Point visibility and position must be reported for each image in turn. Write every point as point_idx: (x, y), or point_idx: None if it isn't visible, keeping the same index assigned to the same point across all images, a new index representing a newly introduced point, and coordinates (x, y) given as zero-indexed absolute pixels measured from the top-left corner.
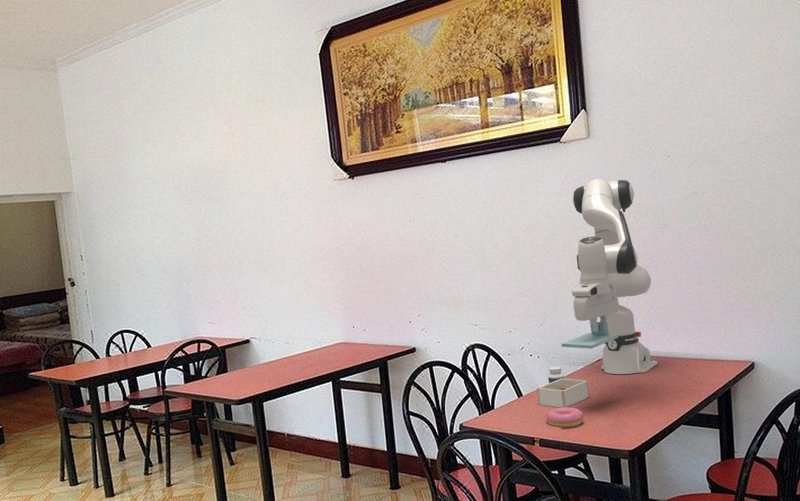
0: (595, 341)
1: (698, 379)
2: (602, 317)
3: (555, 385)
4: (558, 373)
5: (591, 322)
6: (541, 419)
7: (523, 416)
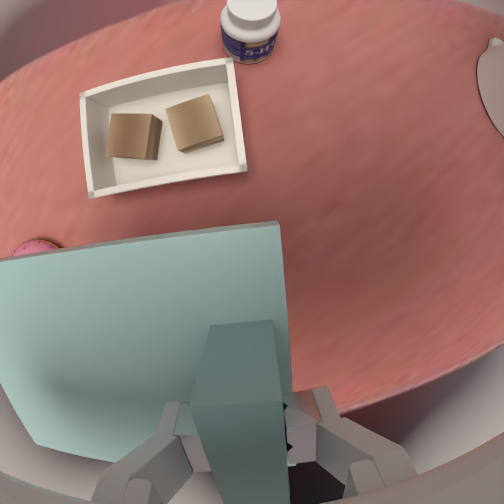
0: (86, 439)
1: (499, 299)
2: (345, 495)
3: (177, 76)
4: (247, 26)
5: (122, 472)
6: (33, 210)
7: (27, 153)
